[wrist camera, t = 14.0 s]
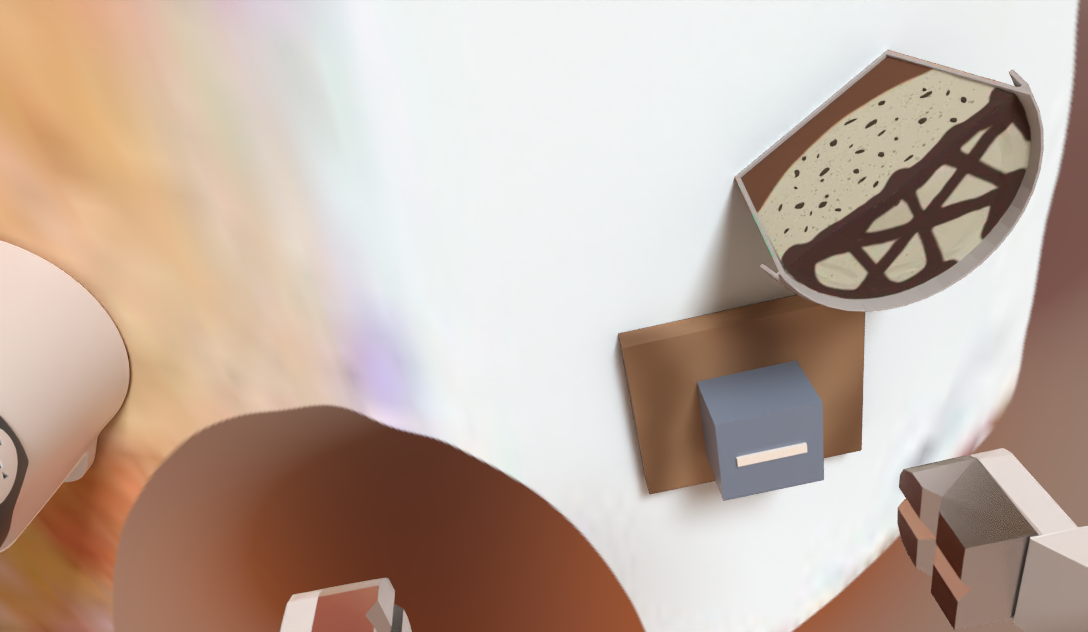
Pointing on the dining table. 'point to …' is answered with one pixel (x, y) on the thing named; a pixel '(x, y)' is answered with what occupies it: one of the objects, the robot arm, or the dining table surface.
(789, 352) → the board
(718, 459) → the grey drawer unit
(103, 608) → the dining table surface
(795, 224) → the food container
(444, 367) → the dining table surface
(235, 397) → the dining table surface
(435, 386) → the dining table surface
